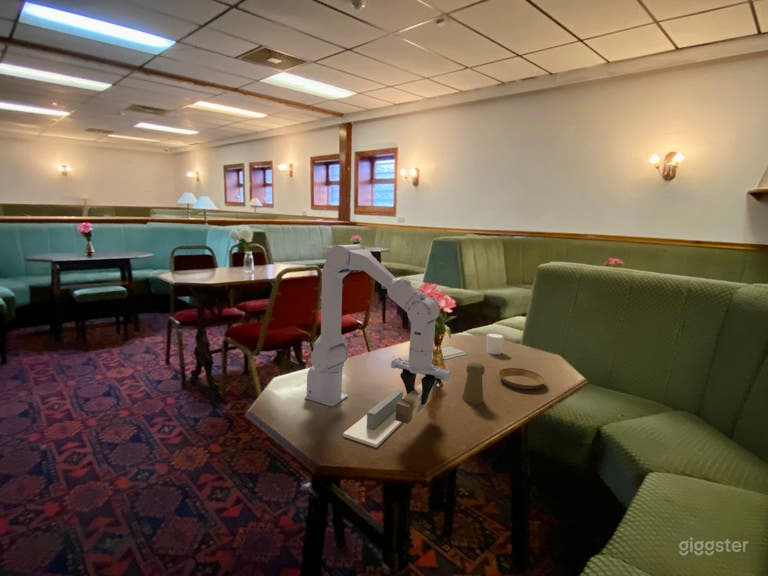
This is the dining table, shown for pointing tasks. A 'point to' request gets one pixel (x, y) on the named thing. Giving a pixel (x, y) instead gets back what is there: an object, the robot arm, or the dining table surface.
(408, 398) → the shiny metallic bar
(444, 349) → the baseboard
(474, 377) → the pepper mill
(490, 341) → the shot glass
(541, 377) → the plant saucer
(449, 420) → the dining table surface
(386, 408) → the ridge stand
